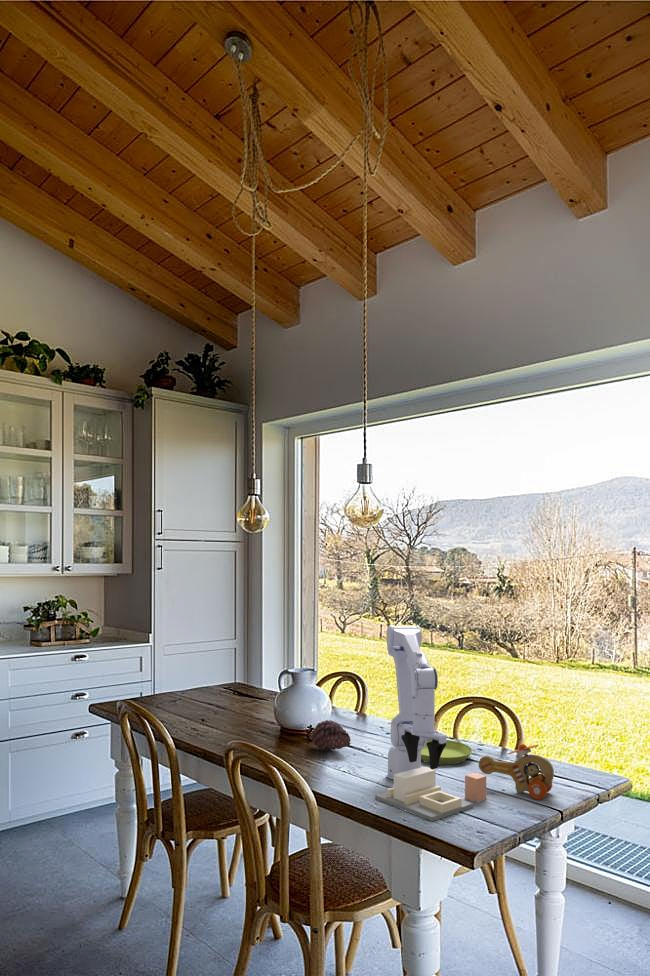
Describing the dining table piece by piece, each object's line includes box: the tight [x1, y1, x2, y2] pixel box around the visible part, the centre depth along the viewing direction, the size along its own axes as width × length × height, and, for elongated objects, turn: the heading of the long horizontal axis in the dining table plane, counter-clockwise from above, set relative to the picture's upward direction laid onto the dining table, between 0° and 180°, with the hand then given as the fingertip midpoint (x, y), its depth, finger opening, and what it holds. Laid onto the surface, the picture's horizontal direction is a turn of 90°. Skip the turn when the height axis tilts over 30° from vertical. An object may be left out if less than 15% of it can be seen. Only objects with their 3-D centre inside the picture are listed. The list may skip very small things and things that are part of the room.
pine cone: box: [309, 719, 352, 752], centre depth 244 cm, size 18×10×10 cm, turn 41°
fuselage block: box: [393, 766, 437, 802], centre depth 201 cm, size 4×12×6 cm, turn 130°
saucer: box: [421, 739, 473, 765], centre depth 240 cm, size 21×21×3 cm
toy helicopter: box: [478, 743, 555, 801], centre depth 209 cm, size 8×21×14 cm, turn 60°
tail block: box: [464, 772, 487, 803], centre depth 202 cm, size 4×4×6 cm
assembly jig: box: [375, 785, 474, 822], centre depth 197 cm, size 20×16×3 cm
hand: (423, 765), depth 201 cm, fingers open, 7 cm apart
